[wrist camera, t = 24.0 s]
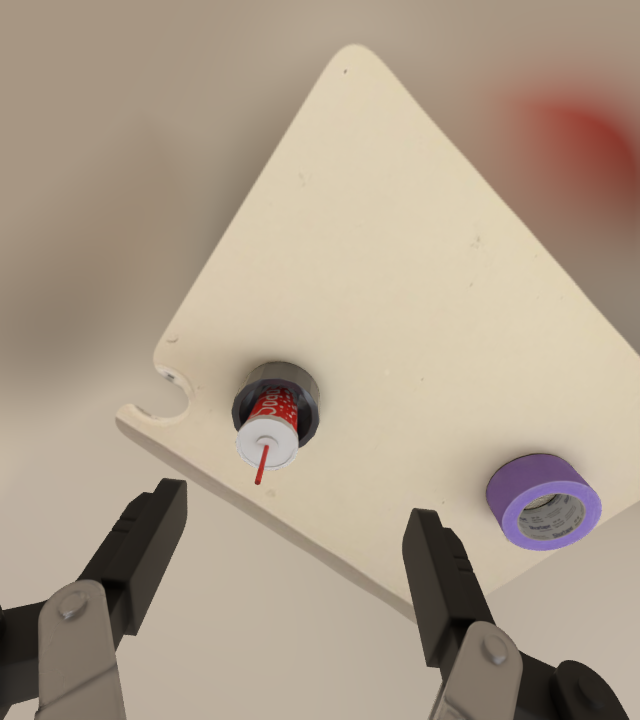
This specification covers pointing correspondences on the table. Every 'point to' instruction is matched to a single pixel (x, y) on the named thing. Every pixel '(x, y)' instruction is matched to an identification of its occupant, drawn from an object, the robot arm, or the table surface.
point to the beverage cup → (270, 431)
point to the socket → (289, 378)
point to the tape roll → (555, 519)
